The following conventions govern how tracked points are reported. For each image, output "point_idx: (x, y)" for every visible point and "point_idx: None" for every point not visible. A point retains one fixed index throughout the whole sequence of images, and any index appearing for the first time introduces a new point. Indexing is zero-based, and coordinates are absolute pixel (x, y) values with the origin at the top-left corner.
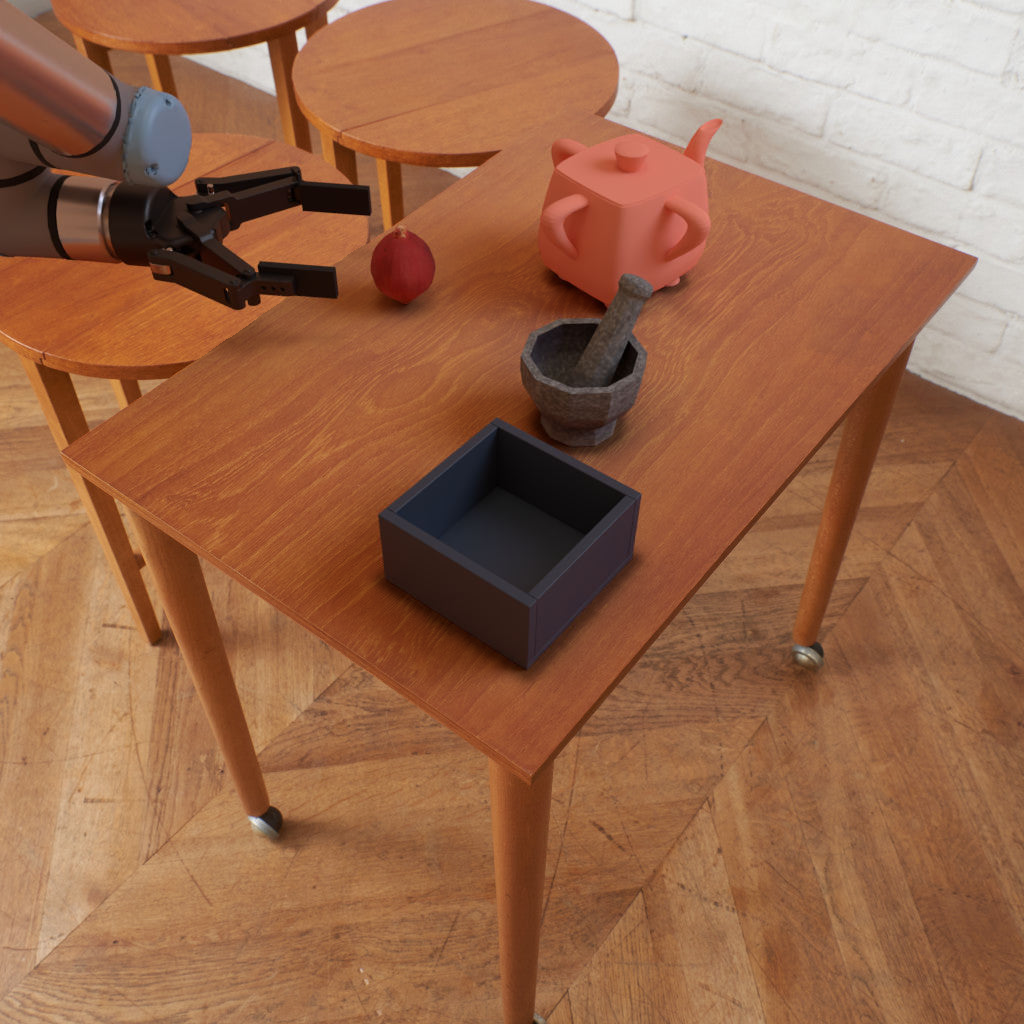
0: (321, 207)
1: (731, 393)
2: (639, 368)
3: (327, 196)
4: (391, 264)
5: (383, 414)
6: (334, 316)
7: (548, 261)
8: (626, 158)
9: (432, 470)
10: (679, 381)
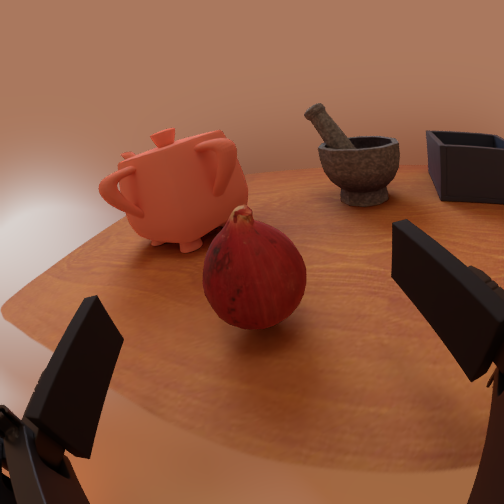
0: (91, 411)
1: (299, 181)
2: (352, 137)
3: (78, 377)
4: (291, 244)
5: None
6: (341, 384)
7: (202, 227)
8: (173, 130)
9: (493, 148)
10: (300, 190)
